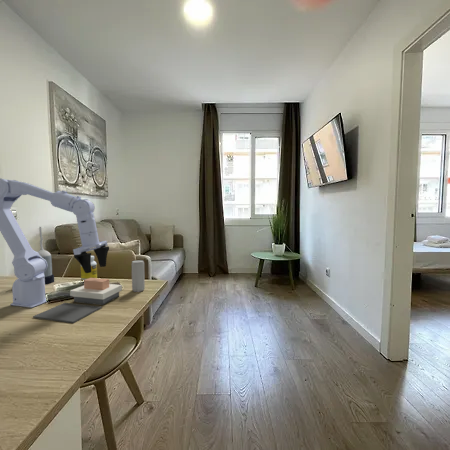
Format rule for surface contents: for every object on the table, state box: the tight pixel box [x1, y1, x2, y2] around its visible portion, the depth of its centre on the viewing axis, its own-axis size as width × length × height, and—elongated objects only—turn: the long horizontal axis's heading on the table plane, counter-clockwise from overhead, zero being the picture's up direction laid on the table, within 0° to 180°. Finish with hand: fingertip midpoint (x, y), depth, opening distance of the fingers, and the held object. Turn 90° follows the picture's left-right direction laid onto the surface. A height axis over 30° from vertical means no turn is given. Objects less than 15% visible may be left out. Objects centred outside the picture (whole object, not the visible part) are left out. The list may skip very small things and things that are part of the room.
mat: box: [32, 302, 103, 324], centre depth 87 cm, size 15×12×1 cm
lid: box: [69, 277, 123, 300], centre depth 99 cm, size 14×11×5 cm
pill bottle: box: [80, 255, 98, 282], centre depth 121 cm, size 6×6×12 cm
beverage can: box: [131, 259, 146, 293], centre depth 109 cm, size 5×5×12 cm
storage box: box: [73, 291, 120, 306], centre depth 99 cm, size 12×9×4 cm
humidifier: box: [36, 226, 55, 286], centre depth 119 cm, size 8×8×25 cm
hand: (96, 269), depth 98 cm, fingers open, 7 cm apart
